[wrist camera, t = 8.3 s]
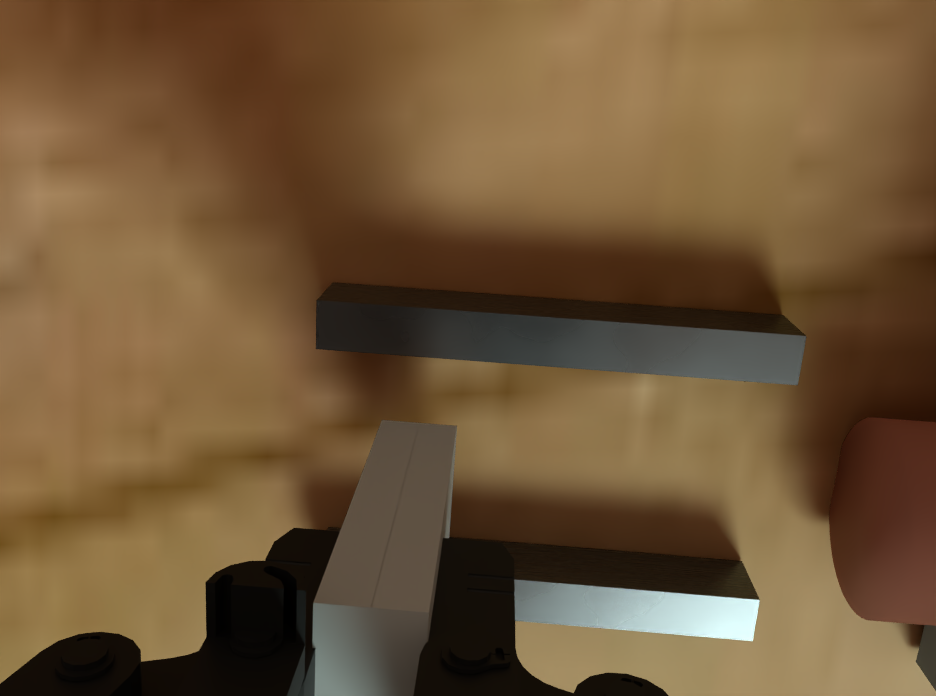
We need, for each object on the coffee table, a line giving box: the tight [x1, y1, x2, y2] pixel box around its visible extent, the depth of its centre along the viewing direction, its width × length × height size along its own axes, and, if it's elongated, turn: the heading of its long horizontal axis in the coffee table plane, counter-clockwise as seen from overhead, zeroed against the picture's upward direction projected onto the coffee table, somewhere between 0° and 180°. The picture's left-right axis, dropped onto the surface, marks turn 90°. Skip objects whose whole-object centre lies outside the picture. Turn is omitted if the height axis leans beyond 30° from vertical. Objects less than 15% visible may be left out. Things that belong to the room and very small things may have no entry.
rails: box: [316, 283, 806, 641], centre depth 19 cm, size 10×7×2 cm
